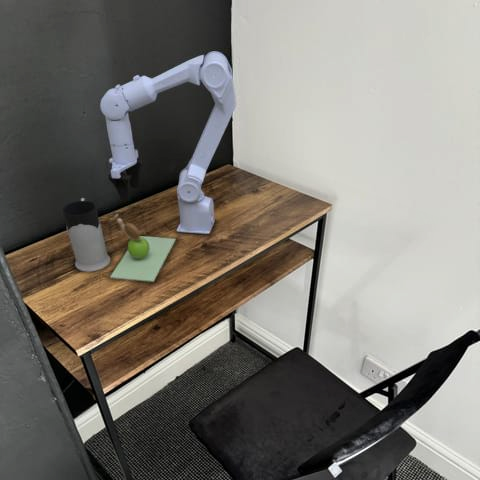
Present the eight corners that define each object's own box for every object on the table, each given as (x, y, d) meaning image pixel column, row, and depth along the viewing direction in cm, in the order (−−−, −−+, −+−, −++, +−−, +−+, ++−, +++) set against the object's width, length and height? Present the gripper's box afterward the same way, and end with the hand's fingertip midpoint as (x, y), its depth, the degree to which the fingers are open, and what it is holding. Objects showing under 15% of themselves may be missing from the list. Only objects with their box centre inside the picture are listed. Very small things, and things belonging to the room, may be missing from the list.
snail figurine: (137, 244, 121) (122, 207, 112) (156, 251, 118) (142, 214, 109) (124, 257, 119) (107, 221, 109) (143, 265, 116) (127, 228, 107)
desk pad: (175, 239, 126) (175, 238, 126) (153, 282, 111) (153, 280, 111) (137, 237, 127) (137, 235, 127) (110, 278, 112) (109, 276, 112)
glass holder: (74, 273, 114) (57, 218, 104) (78, 244, 125) (63, 191, 115) (110, 269, 115) (97, 214, 106) (110, 240, 126) (99, 188, 116)
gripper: (116, 132, 122) (125, 181, 131) (95, 152, 111) (106, 204, 120) (142, 133, 121) (149, 182, 130) (122, 153, 110) (132, 206, 119)
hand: (130, 193), depth 125 cm, fingers open, 7 cm apart
